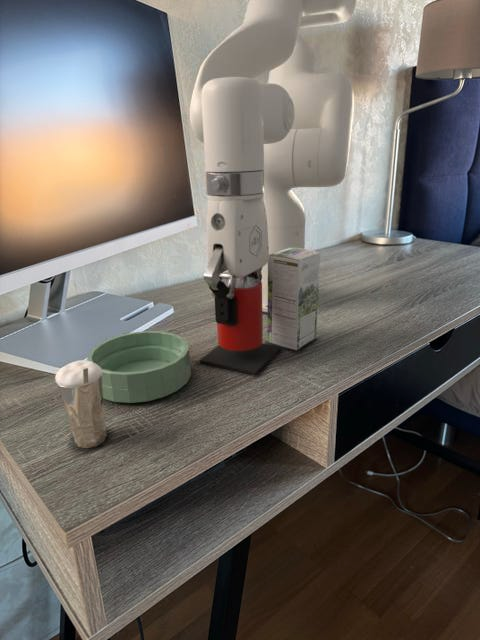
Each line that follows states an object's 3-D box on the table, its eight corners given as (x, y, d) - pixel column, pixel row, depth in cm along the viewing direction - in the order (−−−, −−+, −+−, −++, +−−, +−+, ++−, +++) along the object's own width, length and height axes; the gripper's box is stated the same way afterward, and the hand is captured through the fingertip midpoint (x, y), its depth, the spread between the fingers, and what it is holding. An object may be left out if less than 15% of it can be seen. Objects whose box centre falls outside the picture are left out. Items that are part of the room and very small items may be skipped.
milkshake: (79, 462, 45) (61, 375, 42) (64, 437, 49) (46, 356, 46) (121, 445, 48) (108, 361, 44) (104, 422, 52) (90, 344, 48)
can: (231, 330, 70) (229, 273, 66) (270, 337, 67) (269, 277, 63) (209, 346, 64) (205, 285, 61) (250, 354, 61) (248, 290, 58)
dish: (136, 352, 69) (133, 325, 68) (209, 368, 63) (207, 339, 62) (71, 392, 58) (65, 361, 57) (151, 416, 53) (146, 383, 51)
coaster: (229, 339, 72) (229, 337, 72) (280, 349, 68) (280, 346, 68) (200, 363, 65) (199, 360, 65) (255, 375, 61) (255, 372, 61)
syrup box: (286, 331, 75) (287, 246, 69) (317, 339, 71) (320, 250, 66) (266, 342, 71) (265, 253, 65) (298, 352, 67) (299, 258, 62)
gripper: (227, 192, 49) (233, 341, 55) (287, 181, 63) (286, 300, 69) (172, 192, 52) (183, 332, 59) (240, 181, 66) (243, 295, 73)
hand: (239, 314), depth 64 cm, fingers closed on can, 6 cm apart
